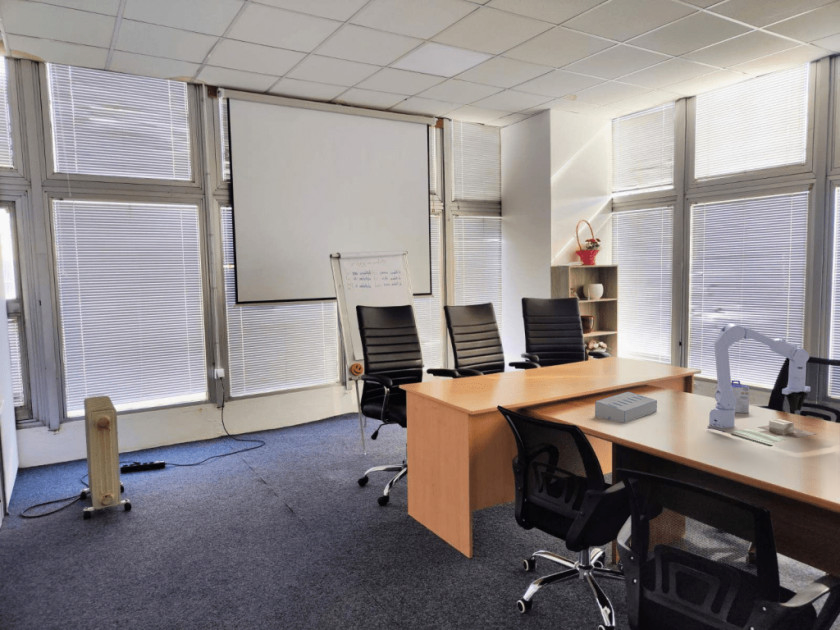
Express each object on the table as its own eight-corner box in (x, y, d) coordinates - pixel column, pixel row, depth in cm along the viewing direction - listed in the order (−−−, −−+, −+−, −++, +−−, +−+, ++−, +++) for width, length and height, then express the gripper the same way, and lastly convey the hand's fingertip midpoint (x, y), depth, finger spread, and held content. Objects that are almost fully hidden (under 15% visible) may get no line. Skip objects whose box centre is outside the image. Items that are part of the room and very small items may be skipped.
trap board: (769, 446, 210) (769, 442, 210) (731, 435, 225) (731, 431, 225) (817, 437, 221) (817, 433, 221) (778, 427, 236) (778, 423, 236)
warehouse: (624, 423, 244) (624, 406, 243) (595, 417, 255) (595, 401, 254) (656, 412, 264) (657, 396, 263) (628, 406, 275) (628, 391, 274)
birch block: (783, 434, 220) (783, 424, 220) (768, 430, 226) (769, 420, 226) (793, 432, 223) (793, 422, 222) (778, 428, 228) (779, 419, 228)
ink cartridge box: (745, 410, 264) (746, 380, 263) (749, 413, 259) (750, 382, 258) (722, 409, 266) (723, 379, 265) (726, 412, 261) (727, 381, 260)
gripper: (795, 380, 219) (793, 414, 220) (818, 377, 225) (817, 410, 226) (777, 377, 226) (776, 410, 227) (801, 374, 231) (799, 406, 232)
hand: (795, 410), depth 227 cm, fingers closed
